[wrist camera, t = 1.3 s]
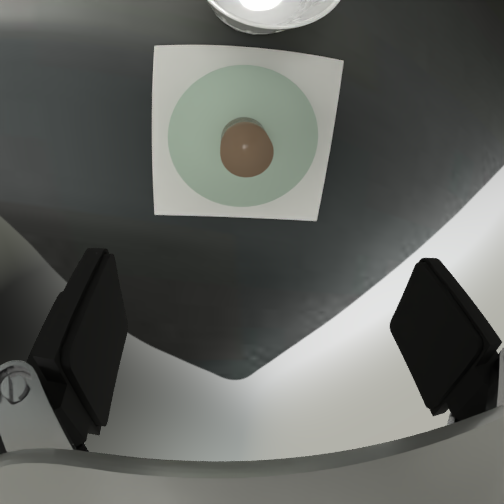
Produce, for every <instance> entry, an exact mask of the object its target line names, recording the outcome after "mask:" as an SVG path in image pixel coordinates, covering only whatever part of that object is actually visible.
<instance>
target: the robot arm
mask: <svg viewBox="0 0 504 504" xmlns="http://www.w3.org/2000/svg"><path fill="white" fill-rule="evenodd" d="M390 330H391V333H392V335H393V337H394V339H395V341H396V343H397V345H398V347H399V349H400V351H401V353H402V355H403V357H404V360H405V362H406V364H407V366H408V368H409V370H410V372H411V374H412V376H413V379H414V381H415V383H416V385H417V387H418V390H419V392H420V394H421V396H422V399H423V400H424V403H425V405H426V407H427V408H429V409H430V411H431V413H432V415H433V416H436V415H439V414H442V413H445V412H446V411H447V410H448V409H449V410H450V412H451V413H450V416H449V420H448V424H447V426H444V427H441V428H438V429H434V430H431V431H428V432H425V433H421V434H417V435H414V436H410V437H406V438H402V439H398V440H394V441H390V442H386V443H382V444H377V445H372V446H368V447H363V448H358V449H352V450H347V451H341V452H335V453H328V454H321V455H313V456H305V457H296V458H286V459H274V460H259V461H230V462H208V461H207V462H206V461H179V460H160V459H147V458H137V457H127V456H119V455H111V454H102V453H94V452H89V450H88V449H87V447H86V446H85V444H84V442H85V441H86V439H87V434H88V433H89V434H95V435H100V430H101V426H106V424H107V422H108V416H109V411H110V406H111V401H112V396H113V391H114V387H115V382H116V378H117V373H118V369H119V365H120V360H121V356H122V352H123V348H124V344H125V340H126V336H127V331H128V322H127V318H126V313H125V309H124V304H123V299H122V294H121V289H120V284H119V279H118V274H117V268H116V262H115V257H114V255H113V254H109V252H108V250H107V249H104V248H88V249H87V250H86V251H85V253H84V255H83V257H82V258H81V260H80V262H79V264H78V265H77V267H76V269H75V271H74V272H73V274H72V276H71V278H70V280H69V282H68V283H67V285H66V287H65V289H64V291H63V292H61V293H60V294H59V295H58V297H57V299H56V301H55V302H54V304H53V306H52V308H51V310H50V312H49V314H48V316H47V318H46V320H45V322H44V324H43V326H42V329H41V331H40V333H39V335H38V337H37V339H36V341H35V344H34V346H33V348H32V350H31V353H30V355H29V357H28V360H27V362H23V361H10V362H7V363H4V364H3V365H1V366H0V504H504V348H503V349H502V350H501V351H500V353H499V354H498V353H497V351H496V350H497V349H498V347H499V346H500V344H501V343H502V341H501V340H500V338H499V337H498V335H497V334H496V333H495V331H494V330H493V328H492V327H491V325H490V324H489V323H488V321H487V320H486V318H485V317H484V316H483V314H482V313H481V312H480V310H479V309H478V308H477V306H476V305H475V304H474V302H473V301H472V300H471V298H470V297H469V296H468V295H467V293H466V292H465V291H464V289H463V288H462V287H461V286H460V285H459V283H458V282H457V281H456V279H455V278H454V277H453V276H452V274H451V273H450V272H449V271H448V270H447V268H446V267H445V266H444V265H443V264H442V263H441V261H440V260H439V259H437V258H422V259H421V260H420V261H419V262H418V263H417V264H416V265H415V267H414V270H413V272H412V274H411V277H410V279H409V282H408V284H407V287H406V289H405V291H404V293H403V296H402V298H401V300H400V302H399V305H398V307H397V309H396V311H395V313H394V315H393V318H392V320H391V323H390Z"/></svg>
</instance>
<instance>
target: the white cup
mask: <svg viewBox="0 0 504 504" xmlns="http://www.w3.org/2000/svg"><path fill="white" fill-rule="evenodd" d="M206 1H207V2H208V4H209V6H210V7H211V9H212V10H213V11H214V13H215V14H216V15H217V16H218V17H219V18H220V20H221V21H223V22H224V23H226V24H227V25H229V26H230V27H231V28H233V29H234V30H236V31H240V32H244V33H249V34H253V35H257V34H270V33H276V32H281V31H285V30H289V29H292V28H296V27H300V26H304V25H307V24H310V23H312V22H315V21H317V20H319V19H320V18H322V17H324V16H325V15H327V14H328V13H329V12H330V11H331V10H333V9H334V8H335V6H336V5H337V4H338V3H339V2H340V0H206Z"/></svg>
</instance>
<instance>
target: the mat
mask: <svg viewBox="0 0 504 504" xmlns="http://www.w3.org/2000/svg"><path fill="white" fill-rule="evenodd" d="M343 62H344V61H342V60H337V59H332V58H327V57H322V56H316V55H310V54H304V53H297V52H290V51H282V50H274V49H264V48H254V47H240V46H222V45H159V46H154V62H153V88H152V168H153V194H154V213H155V215H185V216H218V217H244V218H267V219H287V220H306V221H317V217H318V212H319V207H320V202H321V196H322V191H323V186H324V181H325V175H326V170H327V164H328V159H329V153H330V147H331V141H332V135H333V129H334V123H335V117H336V111H337V104H338V97H339V91H340V84H341V77H342V69H343ZM234 65H253V66H260V67H264V68H267V69H271V70H273V71H275V72H278V73H280V74H282V75H283V76H285V77H286V78H288V79H290V80H291V81H292V82H293V83H294V84H296V85H297V86H298V87H299V88H300V90H301V91H302V92H303V93H304V94H305V96H306V97H307V99H308V100H309V102H310V104H311V106H312V108H313V110H314V113H315V116H316V120H317V126H318V144H317V149H316V154H315V157H314V159H313V162H312V164H311V166H310V168H309V170H308V171H307V173H306V174H305V176H304V177H303V178H302V180H301V181H300V182H299V183H298V184H297V185H296V186H295V187H294V188H292V189H291V190H290V191H289V192H287V193H286V194H284V195H283V196H281V197H279V198H277V199H275V200H273V201H270V202H268V203H265V204H261V205H257V206H250V207H234V206H227V205H222V204H219V203H216V202H213V201H210V200H208V199H206V198H204V197H202V196H201V195H199V194H198V193H196V192H195V191H194V190H193V189H191V188H190V187H189V186H188V185H187V184H186V183H185V182H184V180H183V179H182V178H181V176H180V175H179V174H178V172H177V170H176V168H175V166H174V164H173V162H172V159H171V156H170V152H169V147H168V127H169V123H170V118H171V115H172V113H173V110H174V108H175V106H176V104H177V102H178V100H179V99H180V98H181V96H182V95H183V94H184V92H185V91H186V90H187V89H188V88H189V87H190V86H191V85H192V84H193V83H195V82H196V81H197V80H198V79H200V78H201V77H203V76H205V75H206V74H208V73H210V72H212V71H215V70H217V69H220V68H224V67H228V66H234Z"/></svg>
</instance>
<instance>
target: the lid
mask: <svg viewBox="0 0 504 504" xmlns="http://www.w3.org/2000/svg"><path fill="white" fill-rule="evenodd" d="M317 144H318V126H317V120H316V116H315V113H314V110H313V108H312V106H311V104H310V102H309V100H308V99H307V97H306V96H305V94H304V93H303V92H302V91H301V90H300V88H299V87H298V86H297V85H296V84H294V83H293V82H292V81H291V80H290V79H288V78H286V77H285V76H283V75H282V74H280V73H278V72H275V71H273V70H271V69H267V68H264V67H260V66H253V65H234V66H228V67H224V68H220V69H217V70H215V71H212V72H210V73H208V74H206V75H205V76H203V77H201V78H200V79H198V80H197V81H196V82H195V83H193V84H192V85H191V86H190V87H189V88H188V89H187V90H186V91H185V92H184V94H183V95H182V96H181V98H180V99H179V100H178V102H177V104H176V106H175V108H174V110H173V113H172V115H171V118H170V123H169V127H168V147H169V152H170V156H171V159H172V162H173V164H174V166H175V168H176V170H177V172H178V174H179V175H180V176H181V178H182V179H183V180H184V182H185V183H186V184H187V185H188V186H189V187H190V188H191V189H193V190H194V191H195V192H196V193H198V194H199V195H201V196H202V197H204V198H206V199H208V200H210V201H213V202H216V203H219V204H222V205H227V206H234V207H250V206H257V205H261V204H265V203H268V202H270V201H273V200H275V199H277V198H279V197H281V196H283V195H284V194H286V193H287V192H289V191H290V190H291V189H292V188H294V187H295V186H296V185H297V184H298V183H299V182H300V181H301V180H302V178H303V177H304V176H305V174H306V173H307V171H308V170H309V168H310V166H311V164H312V162H313V159H314V157H315V154H316V149H317Z"/></svg>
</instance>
